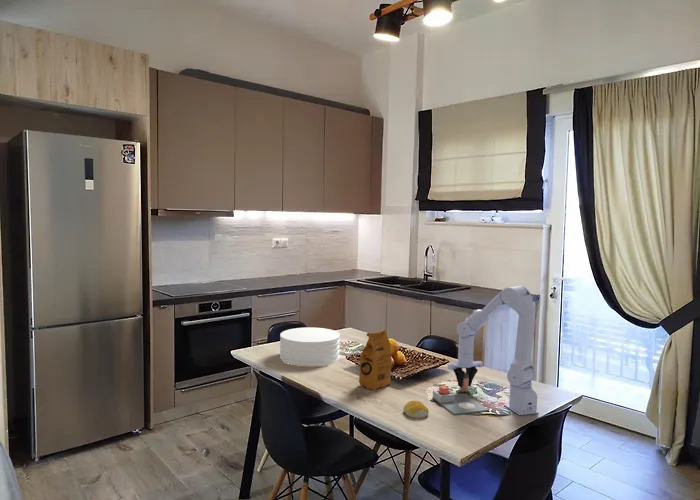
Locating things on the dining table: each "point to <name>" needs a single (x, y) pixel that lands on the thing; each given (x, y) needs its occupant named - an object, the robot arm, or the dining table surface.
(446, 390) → the button
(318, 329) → the plate stack
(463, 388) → the spice jar
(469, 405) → the board
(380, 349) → the coffee package
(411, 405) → the bread roll
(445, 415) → the dining table surface
